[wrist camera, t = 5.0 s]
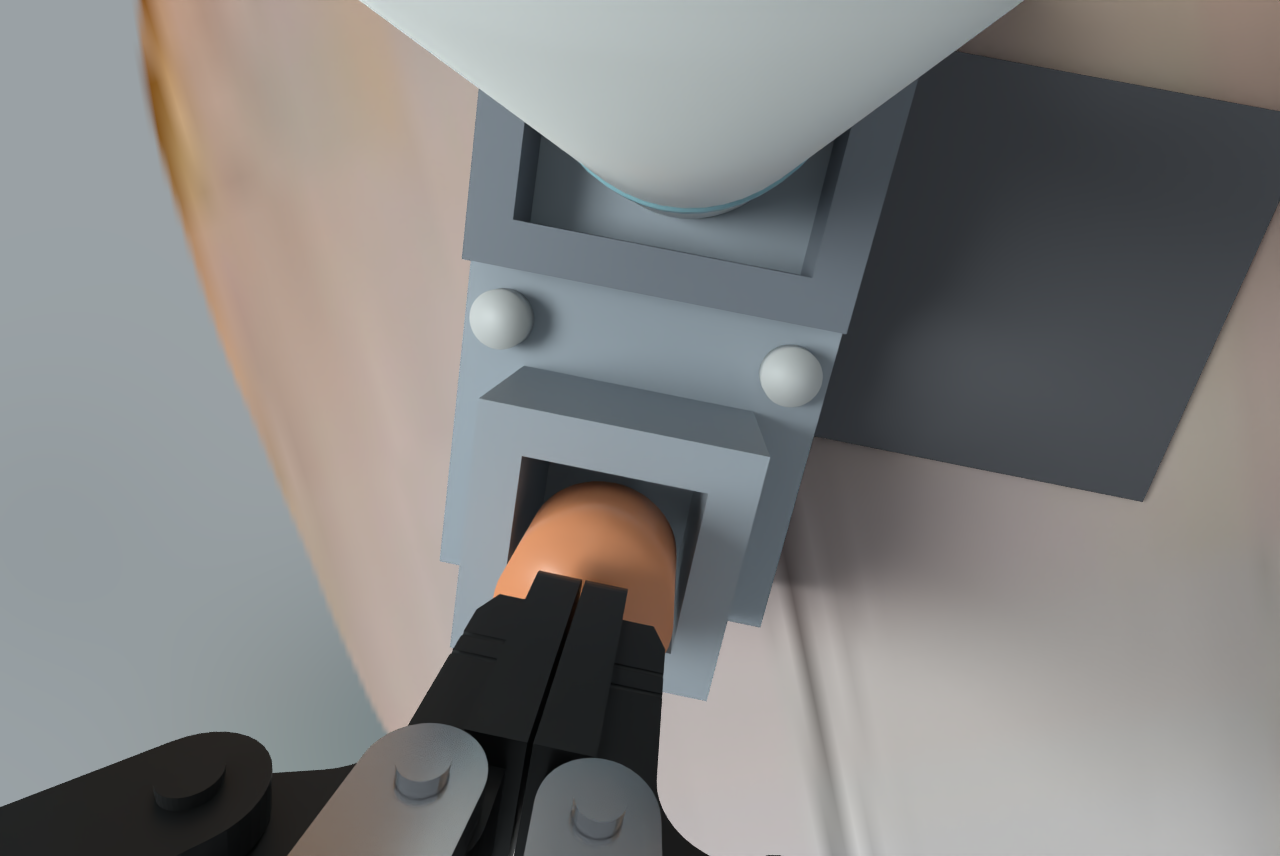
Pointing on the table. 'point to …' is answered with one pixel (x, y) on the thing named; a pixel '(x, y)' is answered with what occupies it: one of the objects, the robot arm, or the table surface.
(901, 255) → the pad
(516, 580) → the plunger
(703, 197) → the cartridge
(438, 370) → the table surface
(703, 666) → the housing
